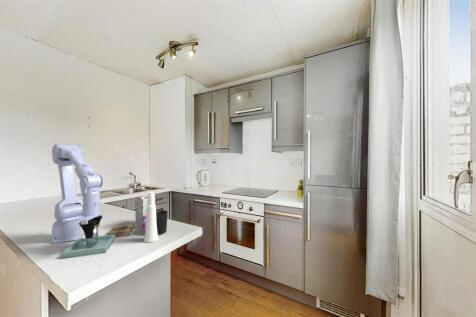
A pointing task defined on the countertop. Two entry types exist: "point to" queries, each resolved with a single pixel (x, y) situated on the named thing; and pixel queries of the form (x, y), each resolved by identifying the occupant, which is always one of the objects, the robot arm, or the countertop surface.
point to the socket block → (121, 230)
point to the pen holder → (161, 221)
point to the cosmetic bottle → (151, 220)
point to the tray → (89, 247)
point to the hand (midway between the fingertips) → (91, 235)
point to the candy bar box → (141, 211)
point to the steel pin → (95, 237)
